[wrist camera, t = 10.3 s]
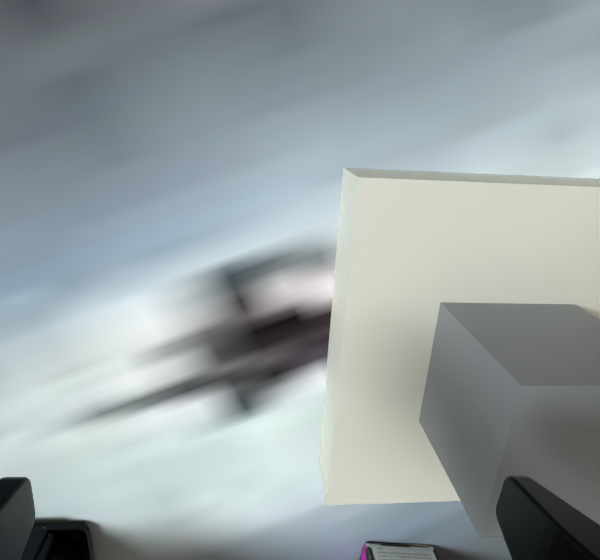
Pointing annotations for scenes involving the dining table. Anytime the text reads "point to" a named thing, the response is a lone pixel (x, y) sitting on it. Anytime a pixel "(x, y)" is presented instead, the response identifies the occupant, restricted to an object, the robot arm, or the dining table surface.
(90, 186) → the dining table surface
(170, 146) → the dining table surface
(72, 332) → the dining table surface
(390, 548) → the candy bar box
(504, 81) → the dining table surface
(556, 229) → the base block
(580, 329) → the grey cube
